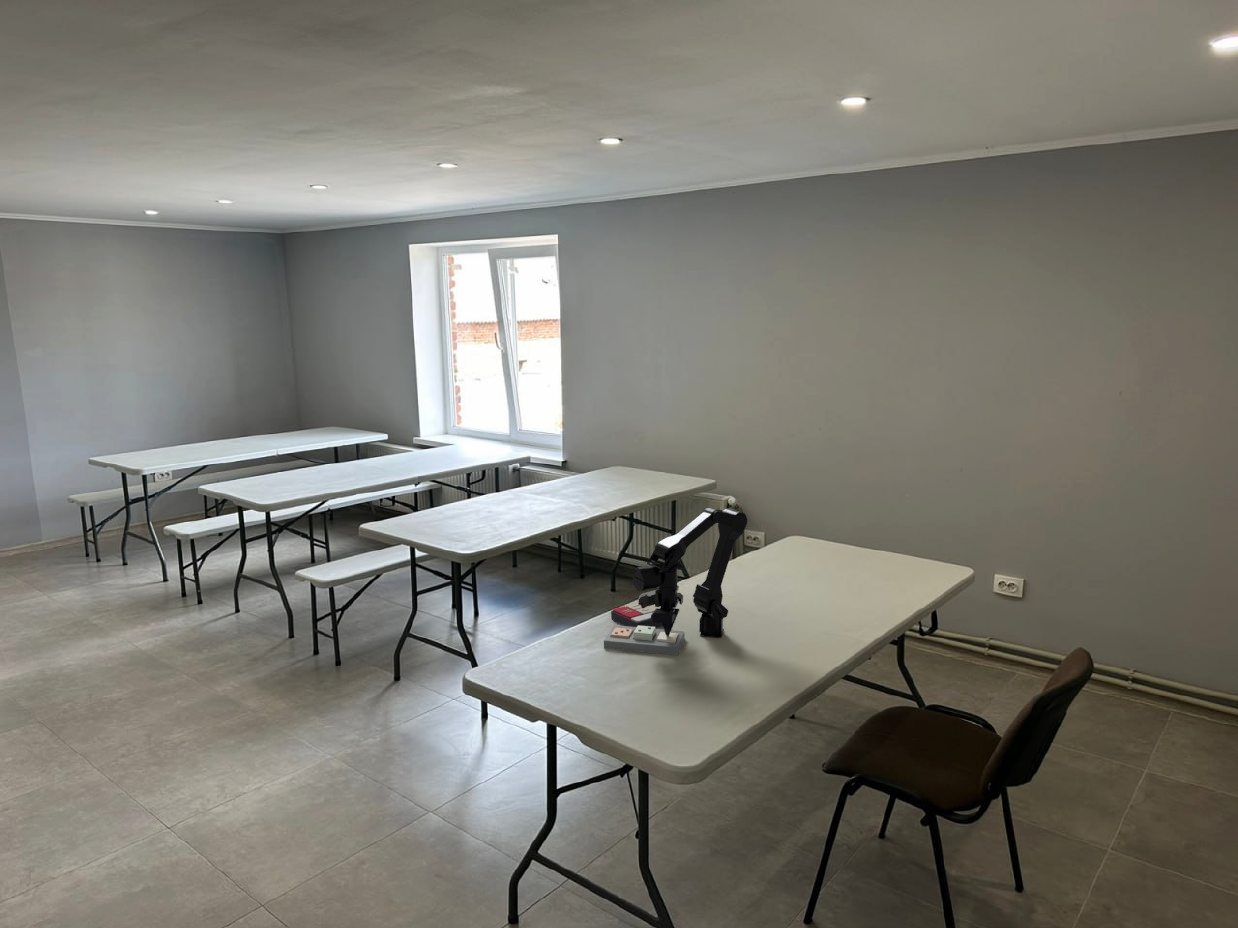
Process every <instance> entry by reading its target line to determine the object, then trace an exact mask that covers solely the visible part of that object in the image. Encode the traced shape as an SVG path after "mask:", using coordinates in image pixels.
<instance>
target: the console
mask: <svg viewBox="0 0 1238 928" xmlns="http://www.w3.org/2000/svg"><path fill="white" fill-rule="evenodd" d="M615 628H626V629H633V633H632V635H631V637H630V638H629V639H628V638H617V637H611V634H612V632H613V631H614V629H615ZM636 628H637V627H630V626H624V625H618V624H614V625H613V626H612V628H611V629H610V630H609V632H608V633H607V635H606V637H605V638H604V640H603V648H604V649H609V650H617V651H618V650H621V651H630V652H641V653H650V654H662V655H670V656H671V655H672V656H678V655H679V652H680V650H681V647H682V645H683V644H684V641H685V631H684V630H674V629H672V630H671V632H670V633H678V639H677V641H676V643H671V642H660V641H657V638H658V636H659V634H660V632H665V631H664V628H663V629H661V628H655V637H654V638H653V640H652V641H649V640H639V639H634V631H635V629H636Z"/></svg>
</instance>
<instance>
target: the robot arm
mask: <svg viewBox="0 0 1238 928" xmlns="http://www.w3.org/2000/svg"><path fill="white" fill-rule="evenodd" d="M748 520H749V519H748V517H747V515H746V514H745V512H743V511H738V510H736V509H733V508H729V507H728V508H725V509H724V510H723V509H718V508H712V507H707V508H705V509H704V510H703V511H702V513H700V514H699V516H697V517H696V518H695V519H693V520H692V521H691V522H690V523H688V524H687V525H686V526H685V527H684V528H683V529H681V530H680V531H679V532H678V533H676V534H674V535H670V536H668V537H666V538H665V537H664V539H662V540H660V541H659V542H657V543H656V544H655V546H654V550H653V552H652V553H651V555H650V556H649V559H648V561H647V562H646V564H647V565H646V566H638V567H636V571H635V572H634V574H633V576H632V581H633V582H632V583H633V585H634V587H635V589H636V590H637V592H643V591H647V592H643V593H641V594H640V595H639V597H638V598H637V601H638V602H637V603H638V604H639V605H641V608H646V607H651V606H654V607H655V609H653V610H654V611H653V613H652V614H651V622H655V623H662V624H663V626H662V627H663V630H664V631H665V634H666V635H669V634H670V632H671V630H673V626H674V624H675V622H676V619H677V617H678V615H679V612H680V608H677V607H678V605H681V606H682V605H683V603H684V595H683V594H682V593H681V592H678V591H679V589H680V588H679V585H678V570H681V569H684V568H685V567H684V565H683V564H682V563H680V560H681V559H682V558H683V557H684V555H685V554H686V552H687V551H686V550H687V549H688V547H690V545H692V544H693V543H694V542H695V541H697V540H698V539H699V538H700V537H701V536H702V535H703V534H704V533H706V532H707V531H708V530H709V529H711V528H712V527H713V526H714V525H716V524H717V527H718V534H719V537H718V539H717V543H716V546H715V549H714V553H713V555H712V558H711V562H710V565H709V569H708V572H707V575H706V577H705V580H704V581H703V582H702V583H701V584H699V583H698V584H696V586H695V589H694V593H693V594H692V598H693V599H692V600H693V601H692V602H693V604H694V607H696V609H697V612H699V613H701V616H700V618H699V633H700V634H699V637H706V638H707V637H708V638H717V639H718V638H719V639H722V637H723V634H724V631H725V629H724V618H727V617H728V614H729V609H728V608H726V607H725V605H723V604H722V602H723V597H724V596H723V591H722V590H723V589H722V584H723V580H724V578H725V574H726V571H727V567H728V564H729V562H730V558H731V556H732V555H731V554H732V552H733V549H734V546H735V543H736V541H737V540H739V538H740V537H741V536H742V535H743V534H744V532H745V530H746V527H747V525H748ZM660 561H661V562H660ZM662 562H663V563H662ZM652 589H655V590H652ZM649 590H650V591H649Z"/></svg>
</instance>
